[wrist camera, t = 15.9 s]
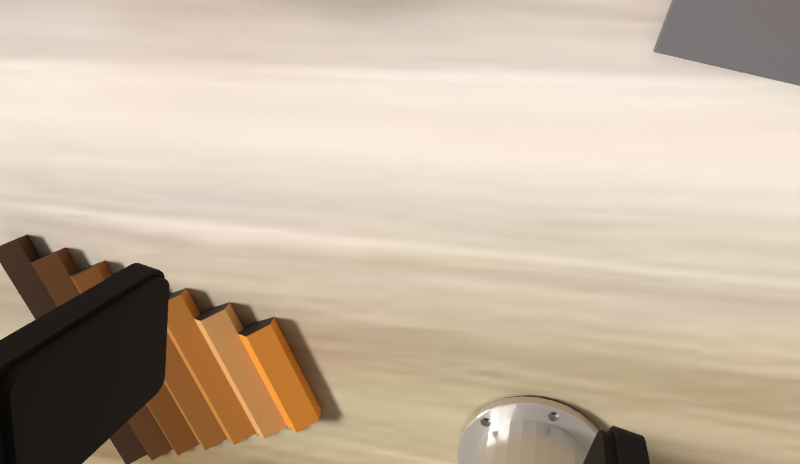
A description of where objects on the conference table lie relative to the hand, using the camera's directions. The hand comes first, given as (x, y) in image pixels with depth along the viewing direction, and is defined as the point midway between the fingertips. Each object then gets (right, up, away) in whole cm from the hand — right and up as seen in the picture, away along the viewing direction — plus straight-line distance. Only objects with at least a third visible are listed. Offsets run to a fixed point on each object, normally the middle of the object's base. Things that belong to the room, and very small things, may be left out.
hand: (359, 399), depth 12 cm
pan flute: (-22, -5, +43) cm, 48 cm away
